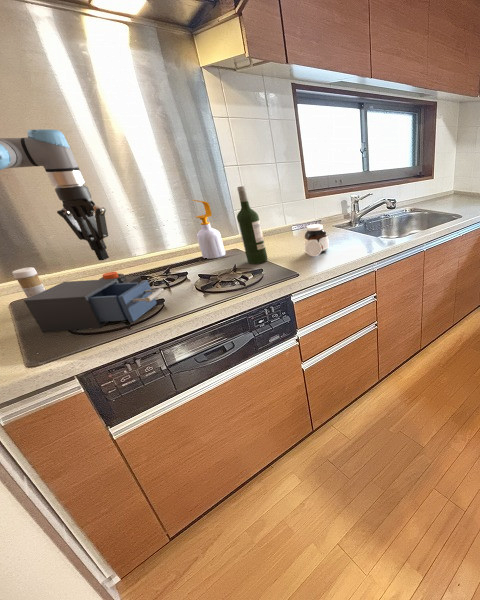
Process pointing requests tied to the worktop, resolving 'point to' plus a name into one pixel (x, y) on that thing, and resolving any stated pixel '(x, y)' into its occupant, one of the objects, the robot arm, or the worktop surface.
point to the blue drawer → (124, 301)
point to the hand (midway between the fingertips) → (103, 259)
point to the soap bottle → (209, 237)
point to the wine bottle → (251, 231)
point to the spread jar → (316, 240)
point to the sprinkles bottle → (29, 281)
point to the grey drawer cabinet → (67, 305)
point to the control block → (127, 279)
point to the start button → (110, 275)
